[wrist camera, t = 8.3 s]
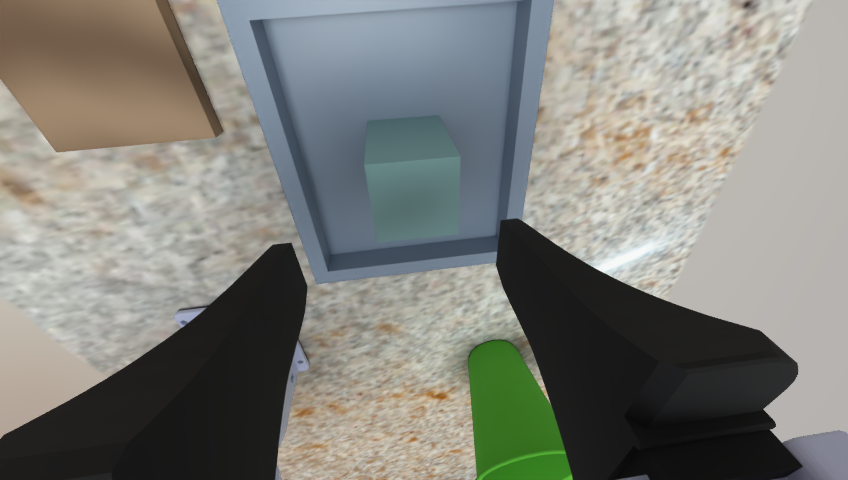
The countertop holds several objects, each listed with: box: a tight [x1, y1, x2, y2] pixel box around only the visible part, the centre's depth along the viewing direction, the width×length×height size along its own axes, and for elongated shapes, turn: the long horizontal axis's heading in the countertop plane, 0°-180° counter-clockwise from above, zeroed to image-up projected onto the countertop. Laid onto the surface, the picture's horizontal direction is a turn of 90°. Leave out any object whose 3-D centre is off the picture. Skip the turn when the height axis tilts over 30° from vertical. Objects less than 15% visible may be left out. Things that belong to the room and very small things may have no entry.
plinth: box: [0, 0, 223, 152], centre depth 15 cm, size 8×8×1 cm
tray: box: [217, 0, 554, 284], centre depth 19 cm, size 16×14×2 cm
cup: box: [468, 340, 573, 480], centre depth 30 cm, size 9×9×11 cm
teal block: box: [364, 115, 461, 243], centre depth 17 cm, size 4×5×6 cm
